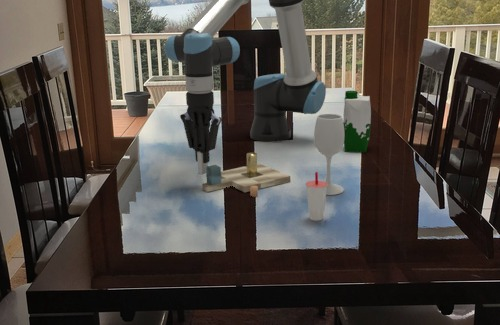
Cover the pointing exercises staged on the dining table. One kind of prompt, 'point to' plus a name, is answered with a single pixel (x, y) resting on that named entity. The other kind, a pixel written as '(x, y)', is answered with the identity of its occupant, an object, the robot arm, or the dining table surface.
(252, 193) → the dowel
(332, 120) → the wineglass
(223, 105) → the dining table surface
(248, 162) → the post
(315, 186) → the cup
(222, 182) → the light wooden flat board
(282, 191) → the dining table surface
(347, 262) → the dining table surface
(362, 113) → the milk carton
